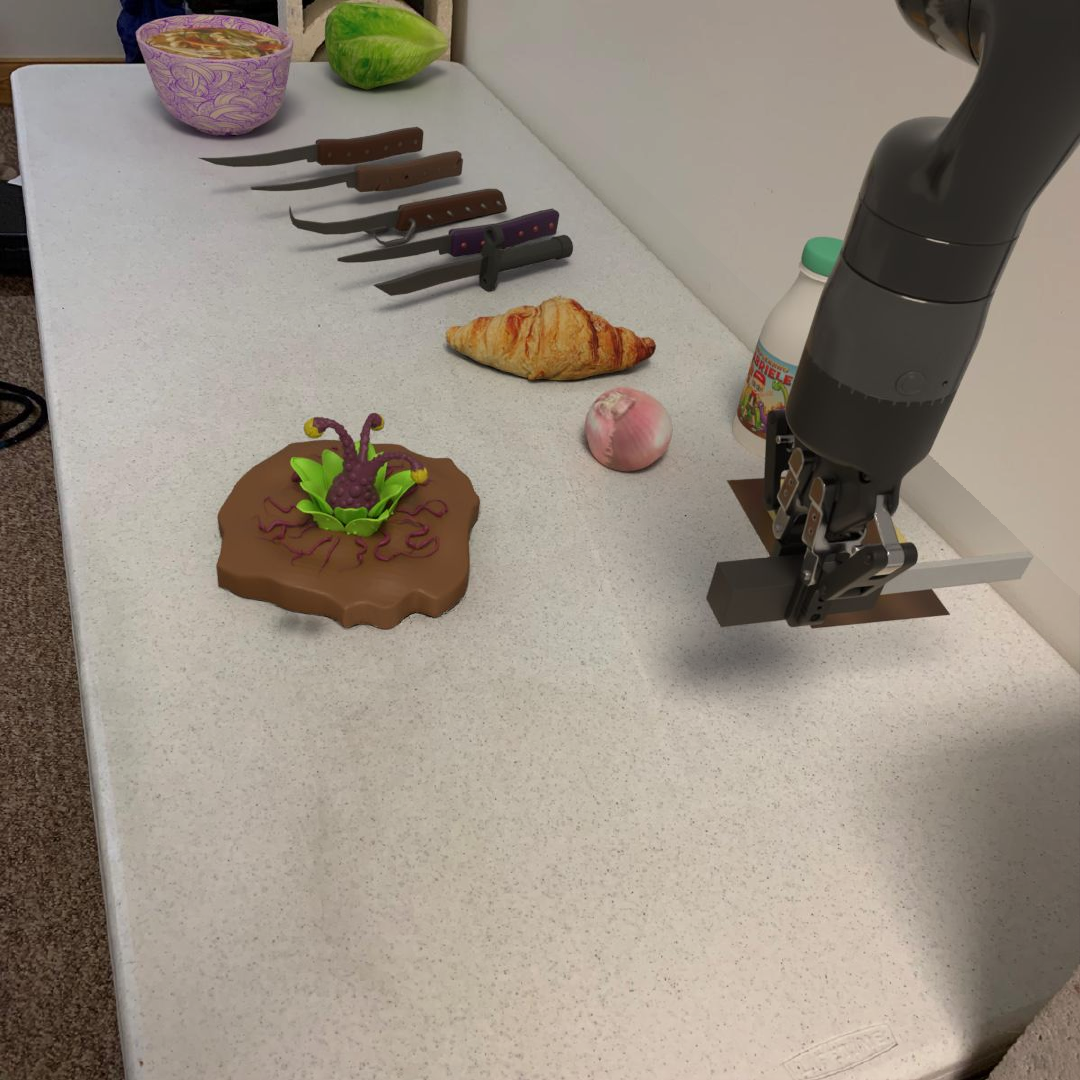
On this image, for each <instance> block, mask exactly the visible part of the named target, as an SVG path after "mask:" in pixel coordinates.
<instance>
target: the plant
mask: <svg viewBox="0 0 1080 1080" xmlns="http://www.w3.org/2000/svg"><path fill="white" fill-rule="evenodd" d="M384 427H385V419H384V417H383V416H382V414H380V413H377V412H372V413H369V414H368V416H367V418H366V419H365V420H364V423H363V425H362V428H361V432H360V433H359V437H360V439H358V440H356V441H354V439H353V437H352V436H351V435H350V434H349V433H348V430H347V429H346V428H345V426H344V425H343V424H342V423H341V424H340V423H339V422H338V421H336V420H335V419H331V418H328V417H324V416H314V417H311V418H310V419H308V420H307V421H305V423H304V425H303V432H304V434H305V436H307V437H308V438H309V439H313V440H308V441H306V440H305V441H297V442H291V443H289V444H287V445H286V446H284V447H283V448H281V449H280V450H278V451H277V452H275V453H274V454H272V455H270V456H269V457H266V459H264V460H262V461H261V462H260V461H259V463H257V464H255V465H254V466H252V467H251V468H250V469H249V470H247V472H245V473H244V474H243V475H242V476H241V477H240V478H239V479H238V480H237V481H236V483H235V484H234V486H233V488H232V489H231V492H229V494H228V496H227V497H226V499H225V500H224V502H223V504H222V505H221V507H220V509H219V511H218V513H217V514H216V518H217V524H218V531H219V536H220V539H221V541H222V542H221V546H220V552H219V556H218V559H217V561H216V564H215V566H216V577H217V586H218V587H219V588H222V589H224V590H228V591H229V592H231V593H232V594H234V595H236V596H237V597H239V598H240V597H241V598H244V599H249V600H258V601H263V602H268V603H270V604H273V605H276V606H277V607H279V608H281V609H283V610H287V611H289V612H290V611H291V612H296V613H301V614H307V615H314V616H315V615H316V616H325V617H326V618H327V617H328V618H330V619H332V620H334V621H336V622H337V623H339V624H340V625H341V627H343V628H344V629H348V628H350V627H352V626H356V625H360V624H362V625H370V626H374V627H377V628H380V629H383V630H389V629H392V628H394V627H396V626H397V625H398V624H400V623H401V622H402V621H403V620H404V619H405V618H406V617H408V616H409V615H411V614H415V613H421V614H424V615H426V616H429V617H432V618H438V617H439V616H442V615H443V614H444V613H446V612H448V611H449V610H451V609H452V608H454V607H455V606H456V605H457V604H458V603H459V602H460V601H461V600H462V599H463V597H464V596H465V595H466V592H467V589H468V586H469V579H470V569H471V555H470V553H471V552H470V538H471V533H472V529H473V526H474V525H475V523H477V521H478V520H479V516H480V507H481V500H480V496H479V495H478V494H477V492H476V491H475V488H474V485H473V482H472V481H471V479H470V477H469V476H468V474H466V473H465V472H464V471H462V470H461V469H460V468H459V467H458V466H457V465H456V464H455V462H454V460H453V459H452V458H450V457H431V456H430V457H429V456H427V455H426V456H425V455H423V454H420V453H418V452H415V451H412V450H410V449H408V448H407V447H406V446H404V445H401V444H398V443H397V444H396V443H372V442H371V437H370V436H371V430H372V432H373V431H374V432H379V431H381V430H383V429H384ZM327 429H333V430H334V432H335V434H336V435H338V439H319V438H321V437H322V436H323V435H324V434H325V432H326V430H327Z"/></svg>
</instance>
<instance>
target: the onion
mask: <svg viewBox="0 0 1080 1080" xmlns="http://www.w3.org/2000/svg"><path fill="white" fill-rule="evenodd" d="M673 426H674V425H673V421H672V417H671V415H670V412H669V410H668V409H667V408H666V407H665V405H664V404H663V403H662V402H661V401H660V400H658V399H657V398H656V397H655V396H653V395H651V394H649V393H647V392H645V391H642V390H639V389H637V388H633V387H629V386H628V387H627V386H618V387H613V388H609V390H606V391H604V392H603V393H601V394H600V395H599V396H598V397H597V398H596V399H595V400H594V401H593V402H592V404H591V405H590V407H589V409H588V411H587V413H586V416H585V421H584V429H585V436H586V441H587V442H588V447H589V450H590V451H591V454H592V455H593V457H594V458H595V460H596V461H597V462H599V463H600V464H602V466H605V467H606V468H608V469H611V470H615V471H618V472H635V471H639V470H642V469H644V468H647V467H648V466H650V465H652V464H653V463H655V461H658V459H659V458H661V456H663V454H664V453H665V452H666V450H667V449H668V447H669V446H670V444H671V440H672V436H673V431H674V429H673V428H674V427H673Z"/></svg>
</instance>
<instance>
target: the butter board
mask: <svg viewBox="0 0 1080 1080" xmlns="http://www.w3.org/2000/svg"><path fill="white" fill-rule="evenodd" d="M785 477H786V476H781V479H785ZM726 482H727V484H728V485H729V487H730V489H731V491H732V492H733V494H734V495H735V498H736V499H737V501H738V503H739V505H740V506H741V508H742V510H743V512H744V513H745V515H746V517H747V519H748V520H749V522H750V524H751V525H752V527H753V529H754V530H755V533H756V534H757V536H758V538H759V539H760V542H761V543H762V545H763V547H764V548H765V550H766V552H767V554H768V555H769V556H770V554H771V551H772V548H773V545H774V542H775V539H776V537H775V536H774V533H773V520H772V518H771V516H770V515H769V513H768V511H767V510H766V509H765V507H764V503H763V493H764V477H757V478H743V479H742V478H741V479H740V478H739V479H727V480H726ZM950 615H951V613H950V612H949V611H948V610H947V607H946V606H945V605H944V604H943V602H942V601H941V600H940V597H938V595H937V593H936V592H935V591H934V589H927V590H919V591H910V592H901V593H892V594H883V595H880V596H879V598H878V600H877V603H876V605H875V607H874V609H873V610H867V611H858V612H849V613H841V614H832V615H827V616H826V619H825V621H824V622H822V623H821V624H816V625H809V627H810V629H822V628H832V627H842V626H852V625H862V624H873V623H881V622H882V623H884V622H892V621H893V622H894V621H901V620H912V619H923V618H931V617H933V618H934V617H942V616H950Z"/></svg>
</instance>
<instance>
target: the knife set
mask: <svg viewBox="0 0 1080 1080" xmlns="http://www.w3.org/2000/svg"><path fill="white" fill-rule="evenodd" d="M424 133H425V132H424V130H423V129H422V128H421V127H418V126H412V127H405V128H399V129H393V130H389V131H384V132H380V133H376V134H370V135H364V136H358V137H351V138H319V139H316V140H315V142H314V143H313V144H309V145H304V146H299V147H293V148H288V149H281V150H276V151H271V152H266V153H258V154H250V155H249V154H248V155H239V156H238V155H235V156H224V157H198V159H200V160H202V161H206V162H208V163H211V164H213V165H217V166H225V167H232V168H247V167H248V168H251V167H255V168H256V167H271V166H272V167H273V166H277V165H284V164H290V163H294V162H295V163H296V162H299V161H300V162H301V161H304V160H306V162H307V163H308V164H310V163H317V164H318V165H320V166H324V167H325V166H352V165H355V166H354V168H353V170H350V171H345V172H341V173H336V174H331V175H325V176H321V177H316V178H312V179H311V178H310V179H307V180H301V181H294V182H287V183H278V184H269V185H256V186H250V190H251V191H262V192H263V191H264V192H295V191H306V190H307V191H308V190H313V189H319V188H325V187H329V186H334V185H338V184H343V183H345V184H346V188H348V189H355V190H356V191H357V192H359V193H372V192H391V191H397V190H402V189H407V188H412V187H416V186H420V185H424V184H428V183H431V182H434V181H439V180H445V179H448V178H455V177H459V176H462V174H463V164H464V159H463V158H462V153H461V152H460V151H458V150H452V151H446V152H445V151H444V152H440V153H436V154H431V155H427V156H423V157H419V158H415V159H410V160H405V161H401V162H394V163H389V164H364V163H369V162H375V161H380V160H383V159H387V158H391V157H394V156H395V157H396V156H400V155H404V154H406V155H407V154H411V153H419V152H421V151H422V150H423V144H424ZM357 164H358V165H357ZM507 209H508V206H507V204H506V199H505V196H504V193H503V192H502V191H501V190H500V189H498V188H483V189H477V190H471V191H465V192H460V193H457V194H451V195H445V196H440V197H435V198H429V199H423V200H419V201H418V200H417V201H414V202H408V203H403V204H400V205H398V206H397V209H395V210H390V211H385V212H381V213H376V214H373V215H369V216H368V215H367V216H364V217H359V218H358V217H357V218H352V219H347V220H341V221H330V222H329V221H328V222H320V221H312V220H304V219H299V218H295V216H294V214H293V212H292V207H291V206H289V208H288V213H289V218H290V221H291V224H292V225H293V226H294V227H295V228H297V229H300V230H303V231H308V232H313V233H317V234H321V235H349V234H350V235H351V234H355V233H362V232H364V233H365V234H368V235H373V237H374V239H375V241H376V242H378V244H380V245H382V246H384V247H382V248H376V249H372V250H367V251H363V252H359V253H354V254H353V253H352V254H349V255H344V256H340V257H338V258H337V259H336V261H337V262H340V263H347V264H350V263H351V264H352V263H354V264H355V263H371V262H381V261H388V260H394V259H395V260H396V259H402V258H407V257H408V258H409V257H413V256H419V255H423V254H428V253H429V254H430V253H433V252H438V255H440V256H443V255H447V254H448V255H450V256H451V257H453V258H460V257H466V256H473V255H478V256H474V257H469V258H465V259H460V260H455V261H451V262H447V263H442V264H438V265H433V266H430V267H425V268H422V269H419V270H416V271H414V272H411V273H408V274H405V275H401V276H398V277H395V278H392V279H388V280H385V281H382V282H377V283H373V284H372V286H374V287H375V288H376V289H378V290H380V291H381V292H383V293H384V294H386V295H388V296H390V297H393V296H400V295H401V296H402V295H409V294H412V293H416V292H419V291H422V290H425V289H428V288H432V287H435V286H438V285H442V284H447V283H451V282H454V281H459V280H462V279H466V278H471V277H475V276H478V285H479V286H480V287H481V288H483V289H484V290H486V291H487V292H491V291H494V290H496V287H497V283H498V280H499V276H500V273H503V272H507V271H511V270H515V269H521V268H524V267H528V266H531V265H535V264H540V263H545V262H548V261H552V260H555V261H559V260H563V259H567V258H570V257H571V256H572V254H573V252H574V244H573V241H572V239H571V237H569V236H568V235H567V234H561V235H556V233H557V230H558V225H559V222H560V221H559V220H560V212H559V211H557V210H556V209H555V208H553V207H552V208H548V209H547V208H546V209H542V210H538V211H534V212H531V213H526V214H523V215H520V216H517V217H514V218H511V219H507V220H503V221H499V222H496V223H495V222H494V223H487V224H482V225H481V224H480V225H474V226H467V227H457V228H451V229H449V230H448V234H443V235H440V236H436V237H430V238H426V239H422V240H421V239H420V240H416V241H412V242H408V241H409V240H410V239H411V236H413V233H414V232H415V230H418V229H424V228H428V227H429V228H430V227H433V226H434V227H435V226H439V225H444V224H449V223H453V222H457V221H462V220H467V219H472V218H477V216H478V217H483V216H487V215H492V214H497V213H501V212H505V211H507ZM392 229H395V230H396V231H397V232H400V233H401V232H406V233H405V235H404V236H403V237H400V238H395V239H391V240H387V241H384V240H380V238H378V237H377V236H376V234H378V233H379V234H380V233H384V232H388V231H390V230H392ZM554 235H556V236H554ZM549 236H552V237H550V239H546V240H541V241H537V242H532V243H528V242H531V241H534V240H538V239H542V238H545V237H549ZM401 243H402V244H401ZM525 243H528V244H525ZM522 244H524V245H522Z"/></svg>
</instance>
